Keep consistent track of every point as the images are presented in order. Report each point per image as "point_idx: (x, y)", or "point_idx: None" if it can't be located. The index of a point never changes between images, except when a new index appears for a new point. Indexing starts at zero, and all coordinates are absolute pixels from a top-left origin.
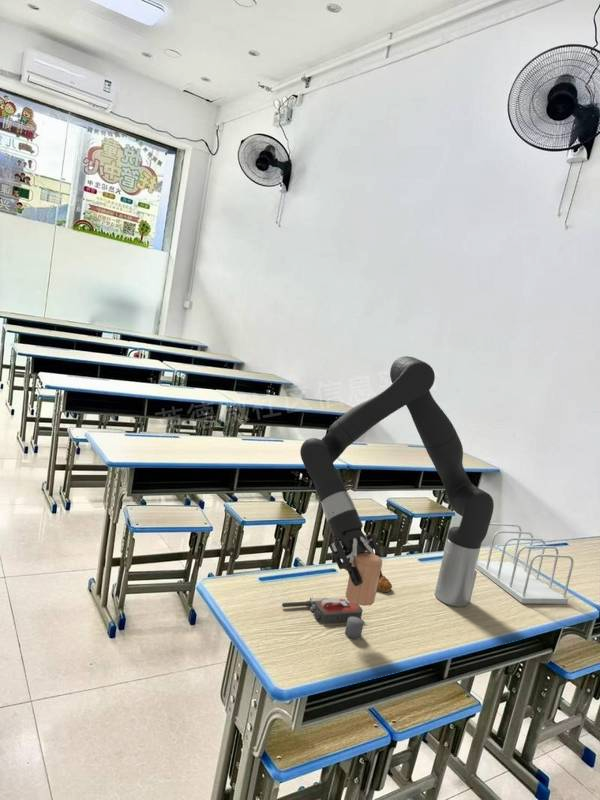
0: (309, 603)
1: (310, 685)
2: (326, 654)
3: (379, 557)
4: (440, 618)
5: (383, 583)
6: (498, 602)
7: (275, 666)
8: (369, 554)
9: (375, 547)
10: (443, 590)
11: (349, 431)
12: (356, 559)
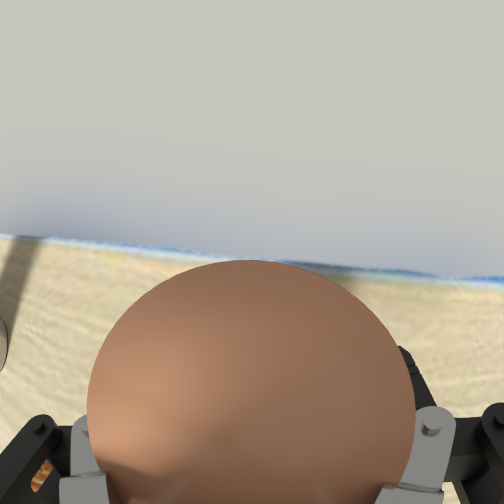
0: None
1: (490, 278)
2: (417, 352)
3: (95, 369)
4: (45, 321)
5: (44, 464)
6: None
7: None
8: (141, 469)
9: (16, 471)
10: None
11: None
12: (406, 450)
